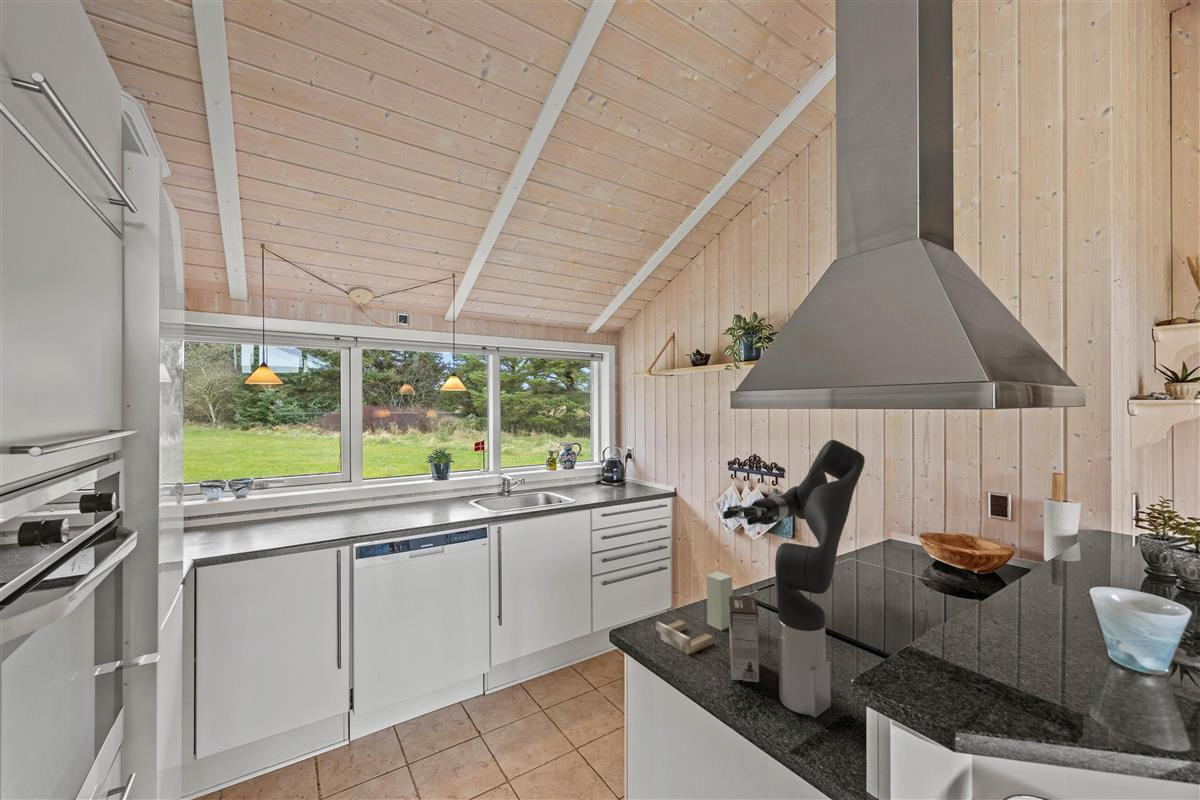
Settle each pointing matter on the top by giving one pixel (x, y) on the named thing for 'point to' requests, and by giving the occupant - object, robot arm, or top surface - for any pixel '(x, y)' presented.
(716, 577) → the sage block
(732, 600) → the coffee box
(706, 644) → the wooden lane
